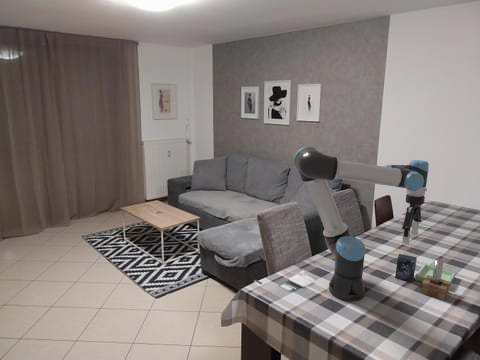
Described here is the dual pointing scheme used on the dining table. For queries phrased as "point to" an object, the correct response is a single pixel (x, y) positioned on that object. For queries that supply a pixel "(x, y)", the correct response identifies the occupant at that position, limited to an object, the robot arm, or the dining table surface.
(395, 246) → the dining table surface
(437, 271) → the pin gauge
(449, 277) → the tray
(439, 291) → the tan square frame
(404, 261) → the box
